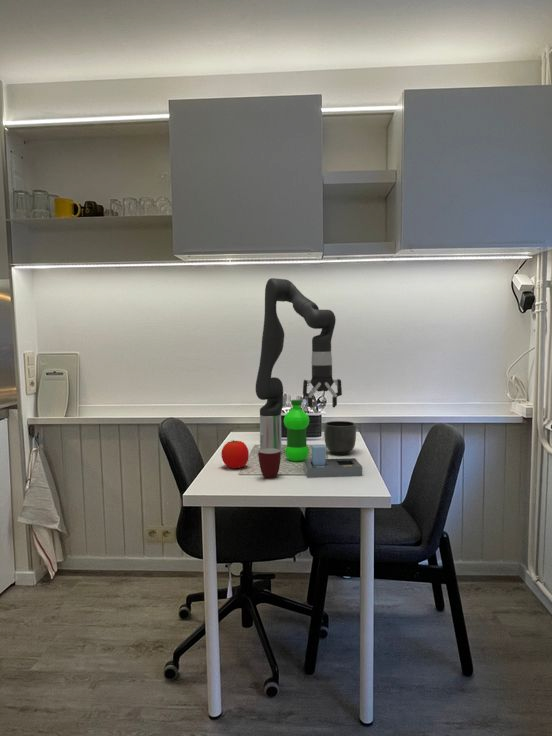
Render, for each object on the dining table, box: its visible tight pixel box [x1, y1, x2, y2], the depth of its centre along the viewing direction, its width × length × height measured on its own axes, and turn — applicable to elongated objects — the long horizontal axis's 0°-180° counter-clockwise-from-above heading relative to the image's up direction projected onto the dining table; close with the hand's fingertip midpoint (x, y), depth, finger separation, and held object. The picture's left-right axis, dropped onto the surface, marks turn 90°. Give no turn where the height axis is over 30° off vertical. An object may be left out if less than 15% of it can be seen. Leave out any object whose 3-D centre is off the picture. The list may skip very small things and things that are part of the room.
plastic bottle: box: [283, 399, 310, 462], centre depth 203 cm, size 10×10×25 cm
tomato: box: [220, 439, 249, 469], centre depth 195 cm, size 10×11×11 cm
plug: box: [311, 444, 327, 466], centre depth 184 cm, size 4×4×10 cm
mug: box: [258, 448, 282, 480], centre depth 181 cm, size 10×8×10 cm
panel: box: [302, 457, 363, 479], centre depth 185 cm, size 20×12×4 cm, turn 94°
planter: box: [323, 420, 357, 456], centre depth 216 cm, size 14×14×13 cm
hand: (322, 407), depth 185 cm, fingers open, 8 cm apart
